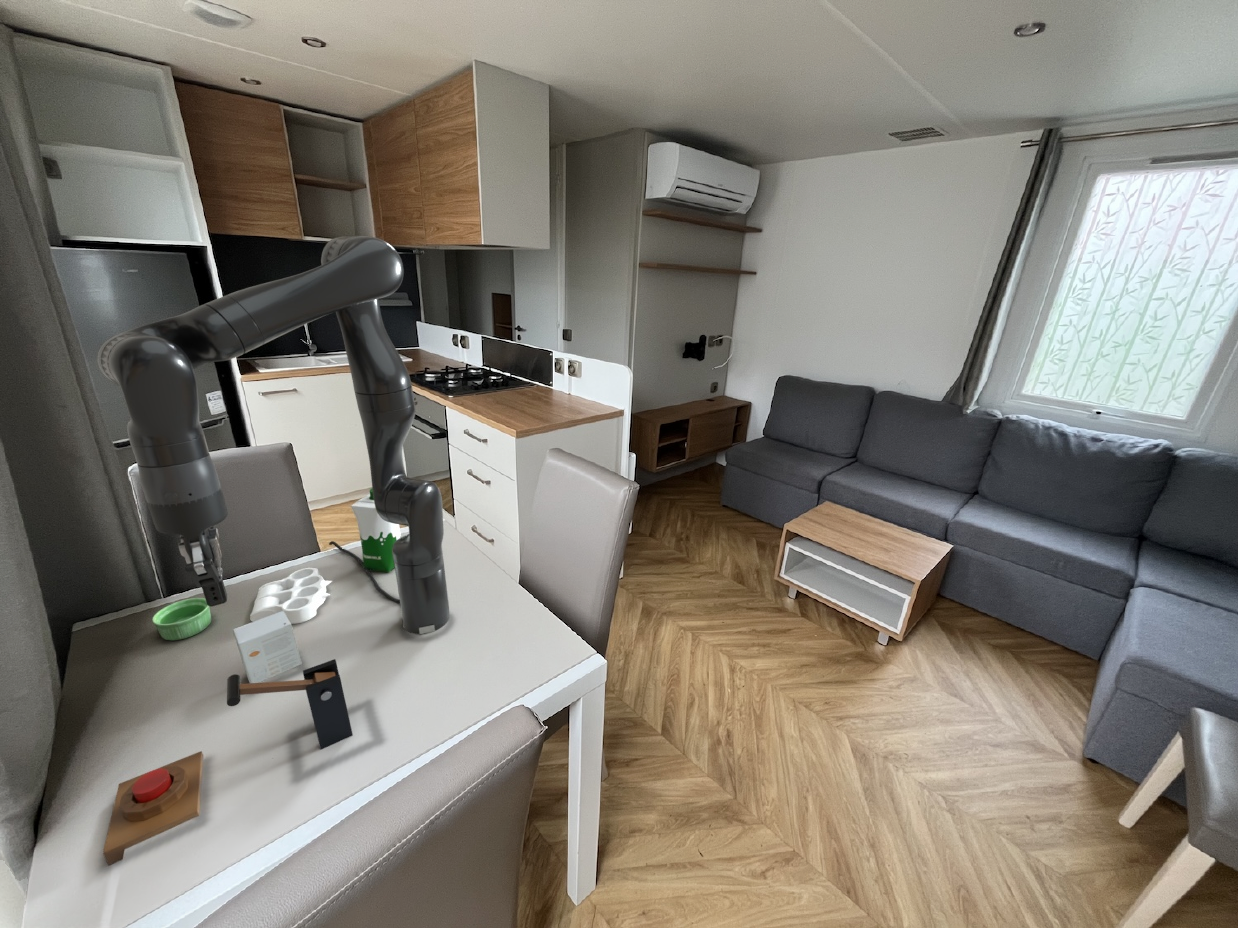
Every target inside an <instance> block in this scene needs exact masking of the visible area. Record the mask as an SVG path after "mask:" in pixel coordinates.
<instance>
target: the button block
mask: <svg viewBox="0 0 1238 928" xmlns="http://www.w3.org/2000/svg"><path fill="white" fill-rule="evenodd" d="M203 766H204V753H203V751H202V750H201V751H197V752H195V753H193V754H191V755H188V756H185V757H183V758H180V759H178V760H175V761H173V762H171V763H167V764H166V765H163V766H160V767H158V768H155V769H154V770H156V769H166V770H167V771H168V773H169V775H170V778H171V780H172V783H171V786H170V787H169V789H168V790H167V791H166V792H165V793H163V794H162V795H160V796H159V797H158V798H156V799H154V800H151V801H149V802H147V803H139V802H137V801H136V799H135V796H134V794H133V792H132V787H133V785H134V784H135V782H136V781H137V780H138V779H139V778H141V777H142V776H143V775H145V774H147V773H148V772H149V771H148V772H145V773H142V774H140V775H138V776H134V777H131V778H130V779H127V780H125V781H123V782H120V783H119V784H118V786H117V791H116V794H115V800H114V803H113V808H112V812H111V815H110V816H111V817H110V820H109V821H110V822H109V826H108V830H107V834H106V838H105V843H104V847H103V851H102V855H103V857H104V859H105V861H106V863H107V865H108V866H111V865H113V864H116V863H118V862H120V861H123V860H124V855H125V851H126V849H129V848H131V847H133V846H135V845H138V844H140V843H143V842H144V841H146V840H148V839H151V838H153V837H155V836H157V835H159V834H162V833H164V832H166V831H169V830H172V828H175V827H177V826H179V825H182V824H184V823H187V822H189V821H190V820H193V819H194V818H197V817H199V816H200V810H201V809H200V808H201V795H202V782H203V781H202V780H203Z"/></svg>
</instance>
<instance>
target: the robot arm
mask: <svg viewBox="0 0 1238 928" xmlns="http://www.w3.org/2000/svg"><path fill="white" fill-rule="evenodd" d="M320 263H321V265H319V266H317V267H314V268H312V269H309V270H306V271H302V272H301V273H297V274H294V275H291V276H287V277H284V278H279V279H275V280H272V281H268V282H265V283H260V284H256V285H253V286H249V287H245V288H243V289H239V290H237V291H234V292H231V293H229V294H226V295H223V296H221V297H218V298H216V299H214V300H210V301H209V302H206V303H204V304H201V305H199V306H197V307H195V308H193V309H191V310H189V311H186V312H183V313H181V314H178V315H175V316H170V317H167V318H164V319H159V320H157V321H153V322H149V323H146V324H143V325H140V326H137V327H134V328H130V329H128V330H125V331H123V332H120V333H117V334H116V335H114V336H111V337H110V338H108V339H107V340H106V341H105V342H104V343H103V344H102V345H101V346H100V348H99V350H98V352H97V364H98V367H99V370H100V372H101V373H102V374H103V375H104V377H106V379H108V380H109V381H110V382H112V383H113V384H115V385H117V386H119V387H120V390H121V392H122V396H123V399H124V402H125V405H126V408H127V412H128V415H129V418H130V419H129V421H128V422H127V425H126V431H127V437H128V440H129V444H130V447H131V450H132V453H133V456H134V459H135V462H136V464H137V469H138V476H139V482H140V486H141V489H142V492H143V495H144V498H145V501H146V504H147V507H148V509H149V512H150V513H149V514H150V516H151V519H152V522H153V524H154V527H155V530H156V531H157V532H158V533H160V534H163V535H177V536H179V539H180V542H178V545H177V546H178V551H179V553H180V555H181V556H182V557H183V558H184V560H185V562H186V564H185V567H184V569H185V572H187V574H188V576H189V577H190V579H191V580H192V581H193V584H194V585H195V586H196V588H197V589H198V588H201V589H202V592H203V596H204V599H206V602H207V605H208V606H210V607H216V606H219V605H222V604H225V603H227V602H228V593H227V590H226V586H225V583H224V579H223V573H224V569H223V568H222V567H221V566H222V563H223V560H222V557H223V553H222V550H221V545H220V542H219V540H220V534H219V530H218V528H217V527H215V526H218V525H219V524H220V523H222V522H223V521H224V520H226V518H227V517H228V515H229V511H228V507H227V504H226V500H225V497H224V496H225V495H224V492H223V488H222V485H221V481H220V478H219V474H218V471H217V468H216V465H215V463H214V461H213V459H212V457H211V454H210V450H209V448H208V444H207V439H206V436H205V432H204V430H203V427H202V425H201V421H200V402H199V400H200V399H199V390H198V381H197V376H196V372H195V370H196V369H199V368H200V367H202V366H205V365H207V364H210V363H215V362H225V361H230V360H233V359H236V358H238V357H240V356H242V355H244V354H247V353H248V352H250V351H252V350H255V349H257V348H259V347H261V346H263V345H265V344H267V343H269V342H272V341H274V340H275V339H277V338H280V337H281V336H284V335H286V334H288V333H290V332H292V331H294V330H296V329H299V328H300V327H303V326H304V325H307V324H309V323H311V322H313V321H316V320H318V319H321V318H323V317H325V316H328V315H330V314H334V313H335V314H336V318H337V321H338V324H339V328H340V331H341V334H342V339H343V344H344V349H345V355H346V357H347V361H348V366H349V371H350V375H351V380H352V386H353V391H354V395H355V400H356V405H357V409H358V411H359V416H360V420H361V424H362V428H363V433H364V439H365V444H366V450H367V454H368V461H369V467H370V478H371V479H370V480H371V489H373V498H374V504H375V508H376V510H377V513H378V514H379V516H380V517H381V518H382V519H383V520H385V521H387V522H390V523H394V524H399V526H400V525H401V526H406V527H408V533H407V534H405V535H403V536H401V538H399V539H398V540H396V541H395V543H394V544H393V546H392V554H393V560H394V571H395V577H396V584H397V590H398V598H396V597H394V596H392V595H391V594H389V593H387V592H386V591H385V590H384V589H382V588H381V587H380V585H379V583H378V582H377V580H376V579H375V577H374V576H373V574H372V572H371V570H369V569H368V568H367V567H365V568H364V565H363V559H361V558H360V557H359V556H357V555H356V554H354V552H351V551H349V550H347V549H346V548H344V549H342V548H343V547H342V546H341V545H339V544H338V543H337V542H336V541H334V540H331V541H330V542H329V543H328V545H329V546H334V547H336V549H338V550H339V551H341V552H342V553H345V554H347V555H348V556H350V557H352V558H353V559H355V560H356V561H357V562H358V563H359V564H360V565H361V566H362V568H363V570H364V569H365V570H364V571H365V572H366V573H367V575H368V578H369V579H370V580H371V582H372V584H373V586H374V587H375V589H376V590H377V591H378V592H379V593H380V594H382V595H383V596H384V597H385V598H387V599H388V600H390V601H392V602H395V603H397V604H399V605H400V611H401V616H402V617H401V618H402V623H403V625H402V627H403V628H404V629H405V631H406V632H409V633H411V634H415V635H423V634H424V635H425V634H430V633H433V632H436V631H437V630H440V629H441V628H443V627H444V626H445V625H446V624H448V622H449V620H450V618H451V614H450V612H451V611H450V604H449V603H450V602H449V595H448V586H447V578H446V569H445V561H444V560H445V559H444V553H443V552H444V551H443V542H444V534H445V533H444V532H445V528H444V509H443V498H442V493H441V489H440V488H439V486H438V485H437V484H436V483H435V482H433V481H431V480H427V479H421V478H416V477H415V478H414V477H408V476H407V474H406V470H405V467H404V460H403V449H404V444H405V441H406V439H407V437H408V435H409V433H410V431H411V428H412V426H413V423H414V421H415V417H416V403H415V396H414V391H413V386H412V380H411V377H410V374H409V371H408V368H407V366H406V364H405V363H404V361H403V359H402V356H401V355H400V353H399V352H398V350H397V348H396V347H395V345H394V344H393V342H392V340H391V338H390V336H389V334H388V332H387V330H386V327H385V324H384V320H383V316H382V312H381V306H380V299H383V298H387V297H389V296H391V295H393V294H394V293H395V292H396V291H398V289H399V288H400V286H401V285H402V283H403V280H404V274H405V272H404V271H405V269H404V264H403V260H402V258H401V256H400V254H399V252H398V251H397V250H396V249H395V247H393V246H392V245H391V244H390V243H389V242H387V241H385V240H384V239H380V238H379V237H374V236H369V235H347V236H344V235H343V236H336V237H333V238H332V239H330V240H329V241H328V242H327V243H325V245H324V247H323V249H322V252H321V258H320ZM210 607H209V608H210Z"/></svg>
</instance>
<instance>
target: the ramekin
mask: <svg viewBox="0 0 1238 928" xmlns="http://www.w3.org/2000/svg"><path fill="white" fill-rule="evenodd" d="M210 609H211V608H210V606H208V605H207V602H206V599H205V597H204V598H203V597H193V598H192V597H191V598H187V599H183V600H182V599H181V600H179V601H177V602H174V603H173V602H172V604H169V605H167V606H165V607H163V608H162V609H160V610H158V611H156V613H155V614H154V615H153V616H152V620H151V621H152V624H153V625H154V626H155V627H156V629H157V631H158V633H159V635H160V637H161V638H162V639H163V640H166V641H180V640H185V639H187V638H191V637H193V636H196V635H198V634H199V633H201V632H203V631H204V630H206V629H207V628H208V627H209V626H210V624H211V622H212V615H211V610H210Z"/></svg>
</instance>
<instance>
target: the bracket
mask: <svg viewBox="0 0 1238 928" xmlns="http://www.w3.org/2000/svg"><path fill="white" fill-rule="evenodd" d="M323 672H335V675H336V676H333V677H331V678H328V679H325V680H323V681H320V682H317V683H315V684H312V685H309V686H307V687H306V690H305V692H306V697H307V700H308V701H307V702H308V704H309V709H310V713H311V717H312V721H313V724H314V729H315V732H316V736H317V740H318V744H319V748H320V749H319V750H324V749H326V748H328V747H331V746H333V745H335V744H337V743H339V742H341V741H344V740H346V739H348V738H351V737H352V736H354V735H353V734H354V733H353V730H352V725H351V722H350V716H349V712H348V707H347V701H346V697H345V693H344V689H343V684H342V679H341V675H340V673H339V669H338V664H337V660H336V659H335V658H334V659H332V660H331V659H330V660H327V661H324V662H323V663H320V664H317V665H314V666H311V667H308V668H305V669H303V670H302V675H303V680H310V679H313V676H314V674H315V673H323Z"/></svg>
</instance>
